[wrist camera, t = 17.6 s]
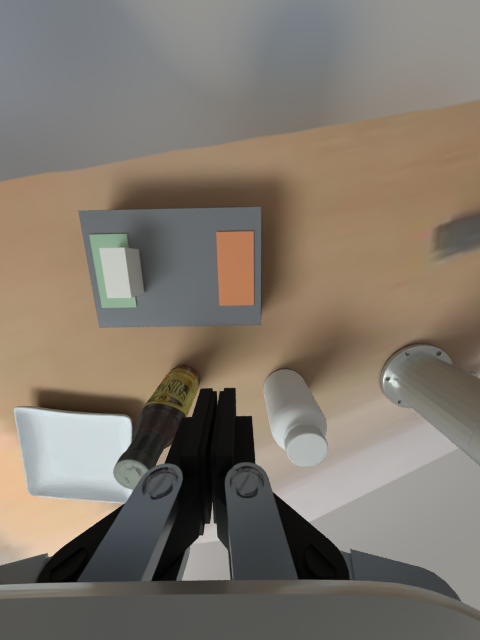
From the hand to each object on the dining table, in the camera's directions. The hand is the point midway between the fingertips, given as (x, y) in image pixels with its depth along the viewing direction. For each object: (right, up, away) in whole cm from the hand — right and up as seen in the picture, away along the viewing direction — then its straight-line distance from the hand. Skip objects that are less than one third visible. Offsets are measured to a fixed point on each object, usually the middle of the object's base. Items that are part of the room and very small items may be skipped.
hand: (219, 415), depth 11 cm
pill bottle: (+9, -8, +32) cm, 35 cm away
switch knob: (-14, +11, +21) cm, 27 cm away
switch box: (-8, +13, +27) cm, 31 cm away
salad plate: (-30, -21, +36) cm, 52 cm away
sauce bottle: (-10, -6, +32) cm, 34 cm away
